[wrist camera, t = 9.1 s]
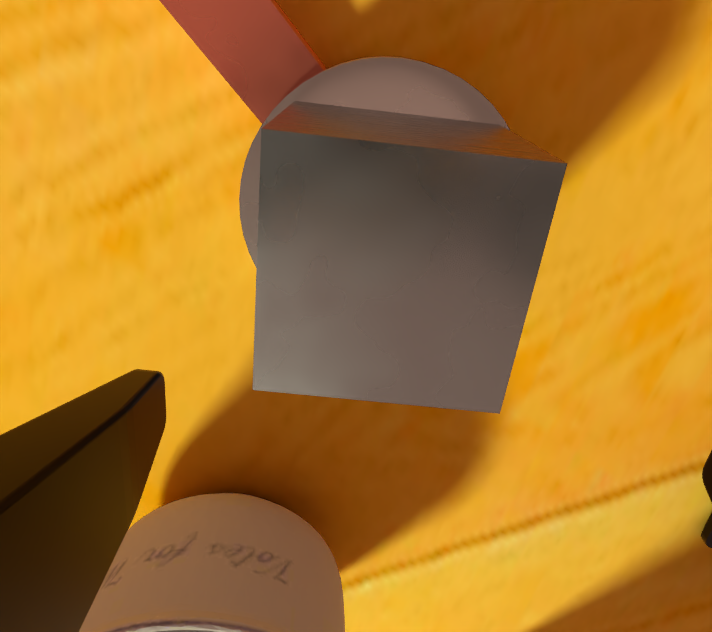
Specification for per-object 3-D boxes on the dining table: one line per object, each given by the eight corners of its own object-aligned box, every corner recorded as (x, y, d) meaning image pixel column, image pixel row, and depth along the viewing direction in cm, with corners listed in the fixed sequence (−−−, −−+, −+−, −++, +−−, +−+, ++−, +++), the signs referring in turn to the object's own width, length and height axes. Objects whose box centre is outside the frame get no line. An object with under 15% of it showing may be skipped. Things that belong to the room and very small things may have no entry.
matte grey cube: (499, 124, 16) (566, 163, 11) (460, 308, 19) (499, 413, 14) (294, 100, 16) (261, 128, 11) (284, 290, 19) (252, 389, 13)
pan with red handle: (559, 218, 20) (619, 270, 15) (360, 356, 22) (359, 436, 18) (172, -370, 13) (76, -581, 9) (-45, -84, 16) (-205, -135, 11)
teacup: (312, 433, 24) (290, 601, 17) (378, 598, 28) (383, 787, 21) (24, 498, 26) (-109, 676, 18) (129, 644, 30) (56, 833, 23)
